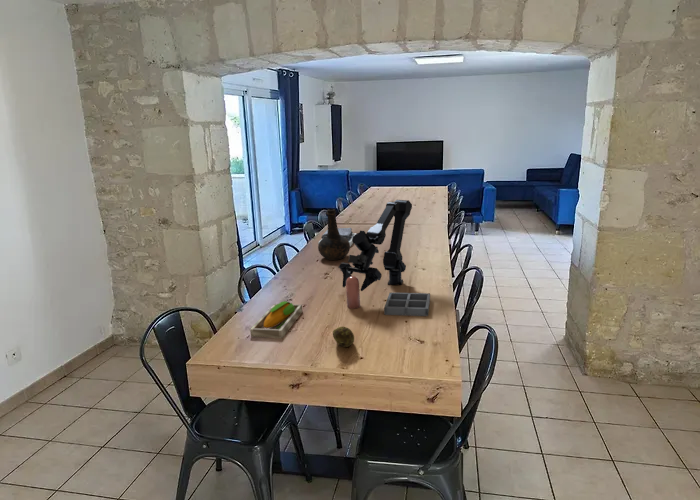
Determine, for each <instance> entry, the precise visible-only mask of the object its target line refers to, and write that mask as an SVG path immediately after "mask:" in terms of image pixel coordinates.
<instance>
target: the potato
mask: <svg viewBox="0 0 700 500" xmlns="http://www.w3.org/2000/svg"><path fill="white" fill-rule="evenodd" d="M332 336H333V339H334V341H335V342H336V343H337V345H338V347H344V348H348V347H350V346H351V345H353V343H354V342H355V334H354V332H353V331H352V329H350V328H348V327H347V326H338V327H336V328H335V329H333V331H332Z"/></svg>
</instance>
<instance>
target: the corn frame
mask: <svg viewBox="0 0 700 500" xmlns="http://www.w3.org/2000/svg"><path fill="white" fill-rule="evenodd" d="M277 304H278V303H273V304H272V306H271V307H270V308H269V309H268V310H267V311H266V312H265V313H264V314H263V315H262V316H261V317H260V318H259V319H258V320H257V322H256V323H255V324H254V325H253V326H252V327H251V328H250V329H249V331H250V337H251V338H252V337H253V338H267V339H268V338H270V339H283V338H284V336H285V335H286V334H287V333H288V331H289V330H290V328H291V327H292V326H293V325H294V323H295V322H296V320H298V318H299V316H301V314H302V313H303V305H302V304H294V303H292V304H293V305H294V308H295V310H294V312H293V313H292V315H291V316H290V317H288V318H287V319H288V320H287V319H286V320H287V321H286V320H285V321H286V322H285V323H284V324H283V325H282V326H281V327H280V328H278V329H276V328H264V321H265V319H266V317H267V316H268V315H269V314H270V313H271V312H270V311H271V309H272V308H273V307H274V306H275V305H277Z"/></svg>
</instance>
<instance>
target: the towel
mask: <svg viewBox="0 0 700 500" xmlns="http://www.w3.org/2000/svg"><path fill="white" fill-rule="evenodd" d="M337 228H338V227H337ZM352 230H353V229H352V227H342V228H341V227H340V228H338V231H339V234H340V235H341V236H342V237H344V238H346V239H347V240H348V241H350V240H351V238H352V235H353V234H352V233H353V231H352ZM327 233H328V229H327V230H325V232H324V233H323V234H322V235H321V239H323V238H325V237H326V236H327Z"/></svg>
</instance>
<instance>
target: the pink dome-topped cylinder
mask: <svg viewBox="0 0 700 500" xmlns="http://www.w3.org/2000/svg"><path fill="white" fill-rule="evenodd" d="M345 290H346V304H347V305H346V306H347V308H348V309H352V310H353V309H358V308H360V307H361V296H360V294H361V293H360V281H359V278H358V277H356V276H355V275H352V276H350V277H348V278H347V280H346V286H345Z"/></svg>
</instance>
